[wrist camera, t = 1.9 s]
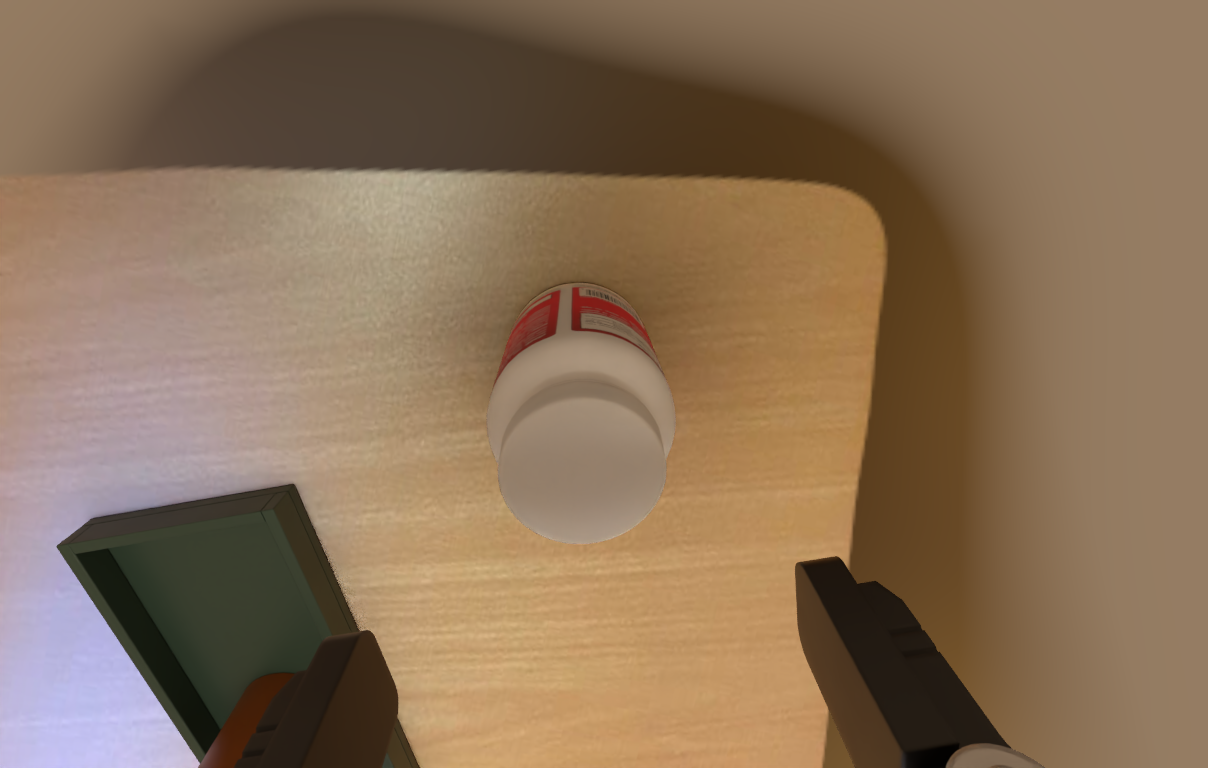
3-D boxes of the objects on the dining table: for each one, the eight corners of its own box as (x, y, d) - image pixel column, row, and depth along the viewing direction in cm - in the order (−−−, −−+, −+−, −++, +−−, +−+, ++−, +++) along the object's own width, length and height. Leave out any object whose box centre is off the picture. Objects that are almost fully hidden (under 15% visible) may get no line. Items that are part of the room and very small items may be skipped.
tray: (296, 850, 38) (281, 887, 37) (90, 518, 28) (54, 546, 26) (445, 826, 38) (438, 863, 36) (294, 483, 28) (273, 509, 26)
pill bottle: (523, 416, 27) (492, 579, 17) (498, 289, 25) (444, 389, 14) (653, 399, 27) (701, 551, 17) (640, 270, 25) (687, 356, 14)
